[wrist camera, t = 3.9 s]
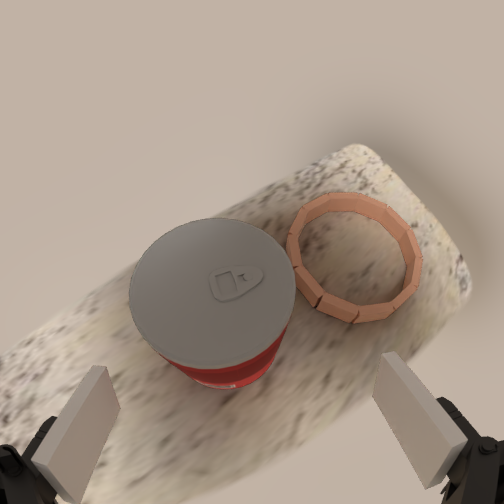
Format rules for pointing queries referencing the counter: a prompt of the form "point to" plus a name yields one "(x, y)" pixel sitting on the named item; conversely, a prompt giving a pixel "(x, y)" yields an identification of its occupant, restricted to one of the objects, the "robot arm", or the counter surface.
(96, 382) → the robot arm
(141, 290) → the canned food
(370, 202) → the ring
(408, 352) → the counter surface
